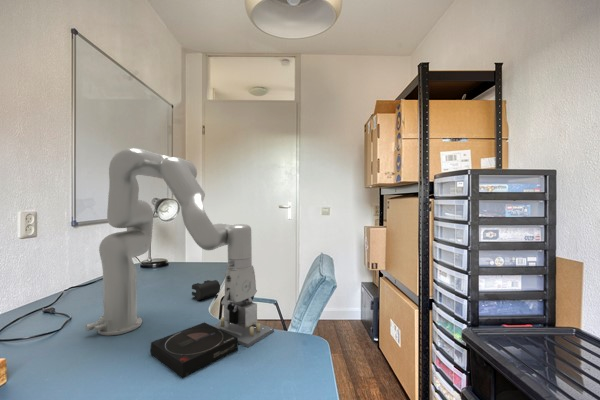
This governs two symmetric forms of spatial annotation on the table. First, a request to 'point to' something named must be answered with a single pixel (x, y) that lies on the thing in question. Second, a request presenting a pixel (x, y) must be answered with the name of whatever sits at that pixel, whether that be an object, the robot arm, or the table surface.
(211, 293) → the end cap
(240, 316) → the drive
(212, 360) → the portable cd player
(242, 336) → the grey pegged fixture plate
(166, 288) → the table surface
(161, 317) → the table surface
